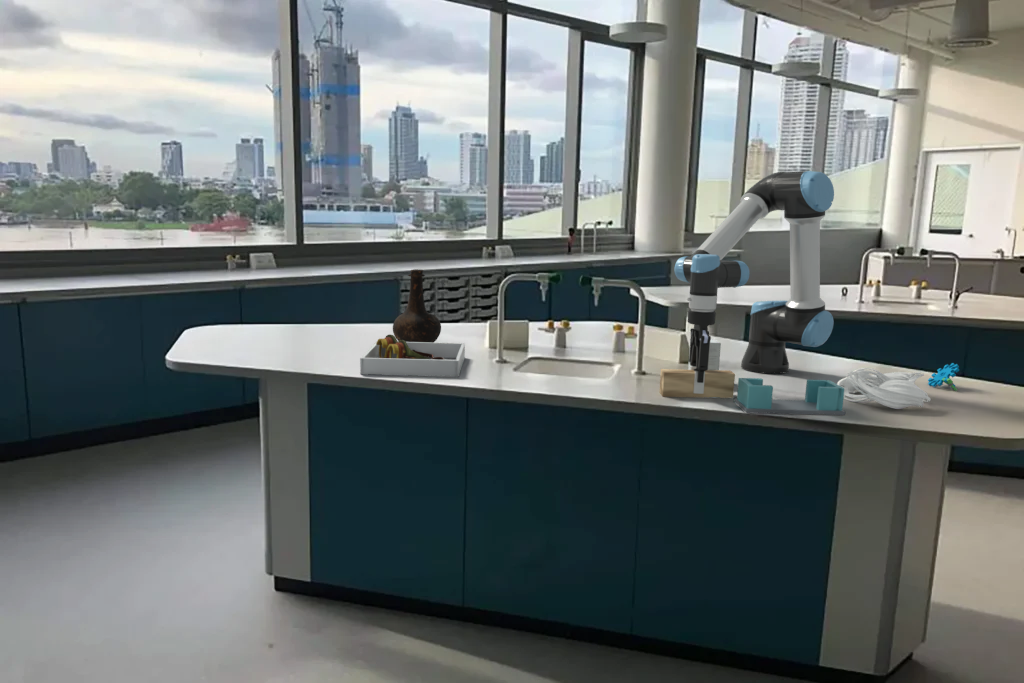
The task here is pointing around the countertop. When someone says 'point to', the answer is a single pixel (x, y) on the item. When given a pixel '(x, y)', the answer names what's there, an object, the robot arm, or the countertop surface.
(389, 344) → the multicoloured curved piece
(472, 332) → the countertop surface
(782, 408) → the rail
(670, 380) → the slat
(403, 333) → the glass bottle
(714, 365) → the small box
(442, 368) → the tray
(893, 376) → the coil
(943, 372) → the blue toy flower
